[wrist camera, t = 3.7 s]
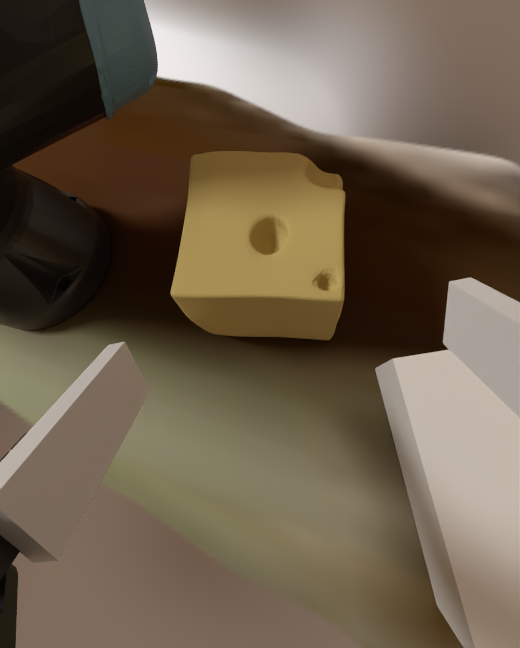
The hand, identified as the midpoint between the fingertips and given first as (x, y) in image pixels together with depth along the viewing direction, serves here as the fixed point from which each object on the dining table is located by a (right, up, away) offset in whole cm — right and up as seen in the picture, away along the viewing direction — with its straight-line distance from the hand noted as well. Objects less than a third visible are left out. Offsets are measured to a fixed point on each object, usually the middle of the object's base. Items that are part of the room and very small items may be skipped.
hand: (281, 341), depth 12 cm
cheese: (+1, +4, +14) cm, 15 cm away
